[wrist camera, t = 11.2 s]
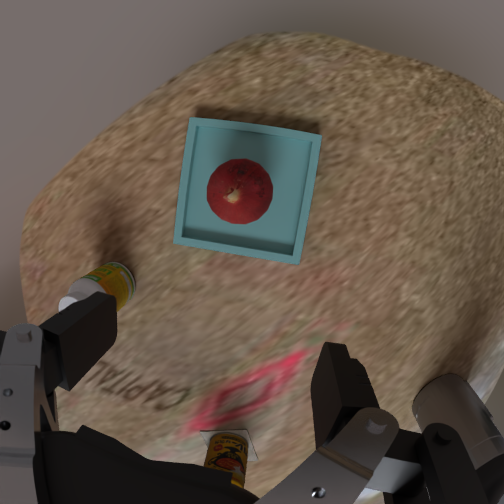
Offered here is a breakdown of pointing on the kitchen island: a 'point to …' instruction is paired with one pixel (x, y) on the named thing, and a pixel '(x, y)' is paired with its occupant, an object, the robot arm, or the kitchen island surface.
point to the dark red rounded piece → (239, 191)
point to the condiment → (229, 452)
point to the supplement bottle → (102, 285)
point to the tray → (282, 176)
